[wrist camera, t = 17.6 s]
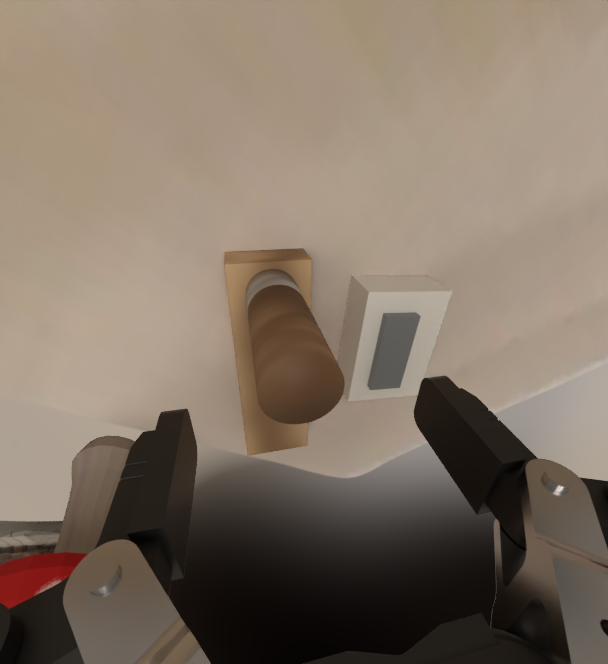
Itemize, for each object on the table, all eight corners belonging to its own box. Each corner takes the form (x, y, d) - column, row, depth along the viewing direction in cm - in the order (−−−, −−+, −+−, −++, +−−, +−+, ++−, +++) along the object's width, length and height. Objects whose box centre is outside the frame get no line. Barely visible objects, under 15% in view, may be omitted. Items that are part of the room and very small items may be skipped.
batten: (302, 248, 20) (311, 259, 18) (301, 423, 28) (307, 445, 26) (224, 252, 19) (224, 264, 17) (246, 432, 27) (247, 455, 25)
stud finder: (424, 273, 24) (458, 294, 20) (397, 369, 28) (422, 400, 25) (350, 273, 22) (372, 295, 19) (334, 374, 27) (350, 407, 23)
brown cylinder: (298, 267, 18) (348, 349, 11) (298, 315, 20) (341, 417, 12) (243, 270, 18) (254, 360, 10) (247, 320, 19) (259, 430, 12)
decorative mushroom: (196, 474, 29) (172, 728, 16) (107, 508, 29) (11, 794, 16) (135, 401, 23) (27, 696, 11) (25, 442, 23) (-218, 793, 11)
